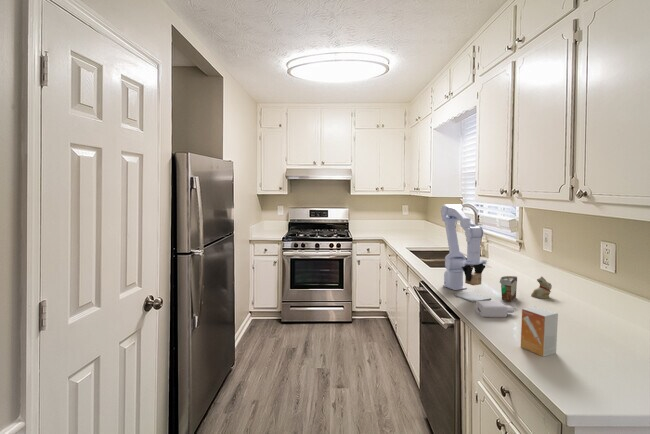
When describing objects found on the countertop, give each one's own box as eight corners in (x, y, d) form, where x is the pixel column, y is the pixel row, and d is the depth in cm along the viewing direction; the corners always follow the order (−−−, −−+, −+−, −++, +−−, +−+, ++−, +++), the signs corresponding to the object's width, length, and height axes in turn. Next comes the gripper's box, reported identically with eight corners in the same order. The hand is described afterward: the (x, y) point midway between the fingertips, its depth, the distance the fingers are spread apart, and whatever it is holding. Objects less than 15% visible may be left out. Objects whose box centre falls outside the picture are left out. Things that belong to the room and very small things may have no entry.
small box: (520, 347, 122) (521, 308, 121) (533, 343, 125) (534, 305, 124) (543, 357, 115) (544, 316, 114) (557, 353, 117) (558, 313, 116)
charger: (521, 318, 149) (483, 318, 150) (511, 311, 159) (475, 310, 160) (522, 307, 149) (483, 306, 150) (512, 300, 158) (475, 299, 159)
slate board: (454, 295, 181) (454, 294, 181) (471, 293, 185) (471, 291, 185) (472, 302, 170) (472, 301, 170) (491, 299, 174) (491, 298, 174)
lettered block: (465, 283, 179) (465, 272, 178) (473, 281, 180) (473, 271, 180) (473, 285, 174) (473, 274, 173) (481, 284, 176) (481, 273, 175)
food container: (502, 294, 182) (503, 274, 181) (516, 297, 178) (517, 276, 178) (495, 300, 173) (496, 279, 172) (510, 303, 169) (510, 281, 168)
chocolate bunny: (549, 299, 174) (550, 278, 173) (530, 296, 179) (531, 276, 178) (551, 296, 178) (552, 276, 177) (533, 293, 183) (533, 273, 183)
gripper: (468, 254, 170) (467, 283, 171) (491, 252, 175) (491, 280, 176) (456, 251, 176) (456, 280, 177) (480, 249, 182) (479, 277, 183)
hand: (472, 280), depth 177 cm, fingers closed on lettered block, 5 cm apart
